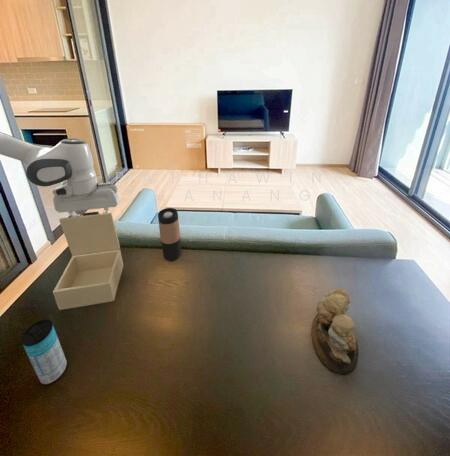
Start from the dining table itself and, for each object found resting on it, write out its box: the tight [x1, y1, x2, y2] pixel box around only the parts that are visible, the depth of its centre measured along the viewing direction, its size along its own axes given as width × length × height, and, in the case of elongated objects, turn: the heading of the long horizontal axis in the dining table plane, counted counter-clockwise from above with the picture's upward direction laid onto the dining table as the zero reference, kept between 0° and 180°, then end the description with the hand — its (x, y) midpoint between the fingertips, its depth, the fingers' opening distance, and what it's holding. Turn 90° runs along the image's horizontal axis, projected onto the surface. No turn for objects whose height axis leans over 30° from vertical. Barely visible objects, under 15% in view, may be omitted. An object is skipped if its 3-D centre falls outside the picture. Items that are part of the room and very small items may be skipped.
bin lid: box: [59, 211, 121, 256], centre depth 89 cm, size 16×17×5 cm
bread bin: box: [52, 249, 124, 311], centre depth 85 cm, size 16×17×8 cm
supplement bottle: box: [20, 319, 68, 385], centre depth 60 cm, size 6×6×15 cm
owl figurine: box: [311, 288, 359, 376], centre depth 65 cm, size 18×12×17 cm, turn 166°
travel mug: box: [157, 207, 182, 262], centre depth 97 cm, size 8×8×20 cm
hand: (91, 218), depth 89 cm, fingers open, 8 cm apart
